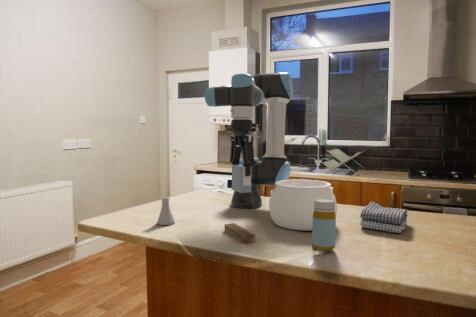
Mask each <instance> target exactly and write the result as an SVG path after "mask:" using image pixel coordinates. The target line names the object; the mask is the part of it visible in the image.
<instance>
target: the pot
mask: <svg viewBox="0 0 476 317" xmlns="http://www.w3.org/2000/svg"><path fill="white" fill-rule="evenodd" d="M275 184H276V185H277V186H274V188H273V189H271V190H270V197H269V201H268V202H269V203H268V211H269V214H270V215H269V216H270V217H271V220H272V221H273V222H274V224H275V225H277V226H279V227H281V228H284V229H287V230H291V231H293V230H294V231H304V232H305V231H306V232H307V231H309V232H310V231H312V226H313V212H314V200H315V199H332V200H334V201H335V207H334V212H335V215H336V216H337V213H338V204H337V199H336V196H335V194H334V192H333V191H334V187H333V186H332V184H331V183H330V182H328V181H324V180H316V179H298V178H297V179H288V180H281V181H277V182H275Z"/></svg>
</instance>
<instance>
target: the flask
mask: <svg viewBox="0 0 476 317" xmlns="http://www.w3.org/2000/svg"><path fill="white" fill-rule="evenodd" d="M160 201H161V209H160V212H159V216H158V219H157V222H156V225H157V226H158V225H159V226H170V225H174V224H175V222H176V221H175V218H174V216H173V214H172V211H171V208H170V198H169V197H164V198H161V200H160Z"/></svg>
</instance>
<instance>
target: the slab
mask: <svg viewBox="0 0 476 317" xmlns="http://www.w3.org/2000/svg"><path fill="white" fill-rule="evenodd" d="M251 172H252V166H251ZM231 190H232V191H233V192H234V191H237V192H240V193H247V192H251V185H250V186H243V167H242V165H232V164H231Z"/></svg>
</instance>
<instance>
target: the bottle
mask: <svg viewBox="0 0 476 317" xmlns="http://www.w3.org/2000/svg"><path fill="white" fill-rule="evenodd" d="M334 207H335V201H334V200H332V199H315V200H314V212H313V226H312V232H311V233H312V235H311V236H312V237H311V239H312V240H311V241H312V244H311V245H312V247H313V248H314V249H315V250H317V251H323V252H324V251H325V252H326V251H332V250H334V249H335V247H336V226H337V225H336V224H337V217H336V216H337V214H336V215H335V212H334Z"/></svg>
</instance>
